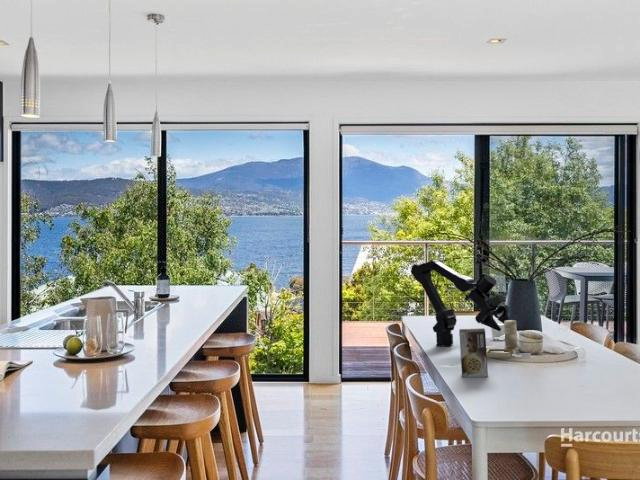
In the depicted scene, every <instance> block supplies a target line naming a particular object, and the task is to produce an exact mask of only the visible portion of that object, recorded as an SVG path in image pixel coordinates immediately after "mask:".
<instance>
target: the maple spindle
mask: <svg viewBox="0 0 640 480" xmlns="http://www.w3.org/2000/svg"><path fill="white" fill-rule="evenodd" d="M517 327H518V326H517V320H514V319H510V320H506V321H504V330H505V340H504V346H503V347H504V349H513V350H515V349H516V348H517V347H518V331H517V330H518V329H517Z"/></svg>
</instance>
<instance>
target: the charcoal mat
mask: <svg viewBox="0 0 640 480" xmlns="http://www.w3.org/2000/svg"><path fill="white" fill-rule="evenodd" d="M515 354H517V355H522V357H515V356H511V358H510V359H525V360H527V359H529V360H530V358H531V356H532V352H531V353H515ZM487 359H502V358H501V357H487Z"/></svg>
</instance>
